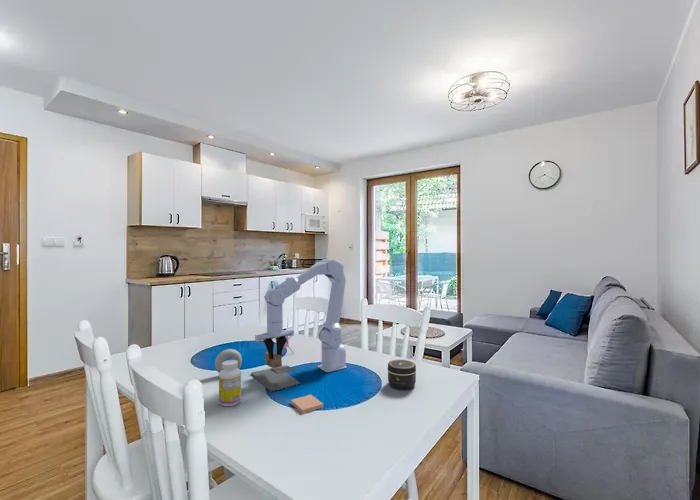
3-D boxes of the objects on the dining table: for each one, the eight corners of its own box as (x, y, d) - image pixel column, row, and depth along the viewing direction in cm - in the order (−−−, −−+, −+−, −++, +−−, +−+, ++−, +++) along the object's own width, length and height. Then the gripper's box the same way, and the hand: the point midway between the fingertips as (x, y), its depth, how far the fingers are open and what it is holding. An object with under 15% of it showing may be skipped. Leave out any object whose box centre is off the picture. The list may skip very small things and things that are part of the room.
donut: (215, 379, 129) (215, 352, 129) (214, 376, 132) (213, 350, 132) (243, 374, 134) (242, 348, 134) (241, 371, 137) (240, 346, 137)
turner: (260, 365, 132) (260, 353, 132) (275, 362, 135) (275, 350, 136) (277, 374, 119) (277, 360, 119) (293, 370, 122) (293, 357, 123)
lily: (293, 350, 167) (283, 333, 167) (307, 345, 160) (297, 327, 160) (275, 364, 158) (265, 346, 158) (289, 360, 151) (278, 341, 151)
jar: (384, 388, 120) (384, 366, 120) (391, 378, 129) (391, 357, 129) (413, 392, 116) (413, 370, 116) (418, 381, 126) (418, 360, 126)
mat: (278, 368, 140) (278, 366, 140) (300, 384, 124) (300, 382, 124) (251, 374, 134) (251, 372, 134) (270, 391, 117) (270, 390, 117)
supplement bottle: (222, 398, 113) (222, 358, 113) (243, 397, 113) (243, 358, 113) (216, 407, 106) (216, 366, 106) (238, 406, 107) (238, 365, 106)
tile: (310, 394, 113) (323, 403, 106) (310, 399, 113) (323, 408, 106) (291, 399, 109) (302, 409, 102) (291, 404, 109) (302, 415, 102)
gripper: (288, 316, 135) (288, 351, 136) (251, 321, 127) (252, 358, 127) (296, 320, 130) (296, 356, 130) (258, 325, 121) (259, 363, 122)
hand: (275, 357), depth 128 cm, fingers closed on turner, 2 cm apart
